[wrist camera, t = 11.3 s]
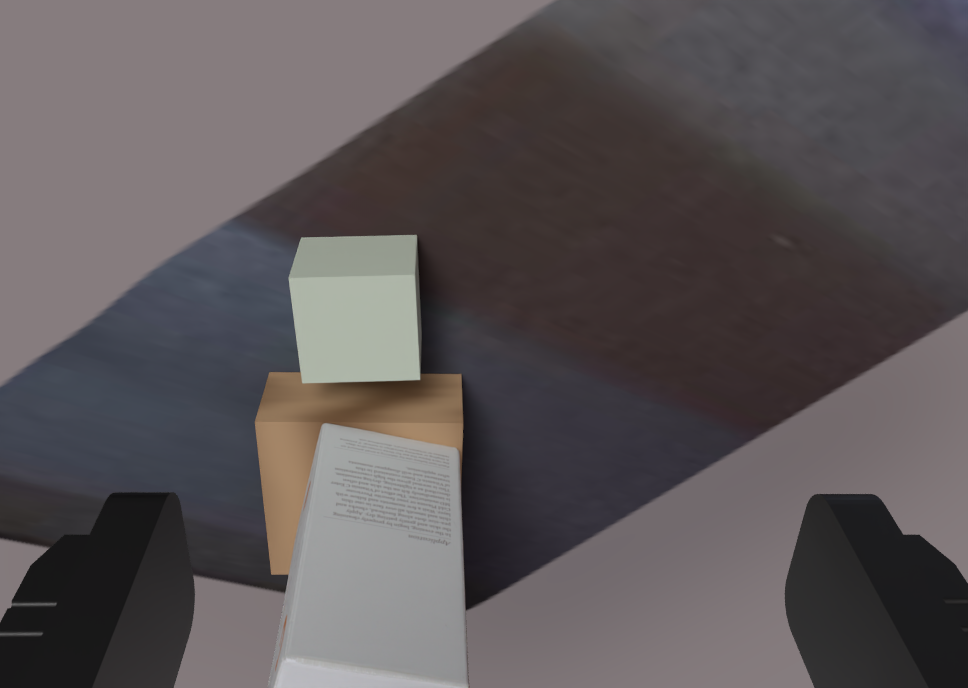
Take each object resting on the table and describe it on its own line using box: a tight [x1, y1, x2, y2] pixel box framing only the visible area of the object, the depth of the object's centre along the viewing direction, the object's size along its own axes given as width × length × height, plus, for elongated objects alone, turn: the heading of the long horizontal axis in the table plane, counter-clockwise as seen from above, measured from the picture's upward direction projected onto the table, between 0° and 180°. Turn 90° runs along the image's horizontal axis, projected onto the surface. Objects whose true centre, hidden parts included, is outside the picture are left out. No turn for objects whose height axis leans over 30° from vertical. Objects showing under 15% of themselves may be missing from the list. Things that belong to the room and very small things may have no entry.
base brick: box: [255, 372, 463, 574], centre depth 44 cm, size 9×9×4 cm
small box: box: [268, 423, 470, 688], centre depth 37 cm, size 8×6×13 cm
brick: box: [289, 235, 422, 383], centre depth 40 cm, size 5×5×4 cm
